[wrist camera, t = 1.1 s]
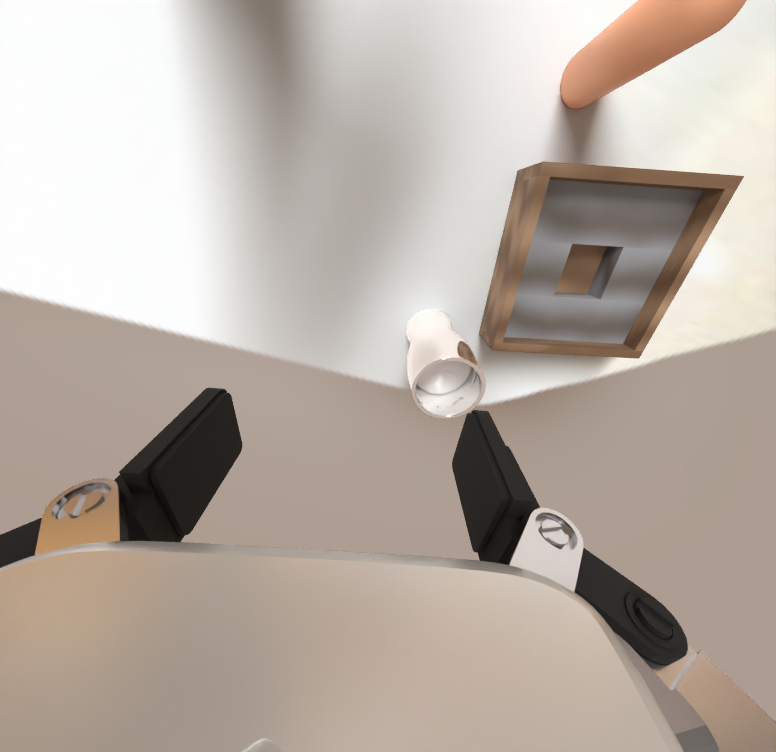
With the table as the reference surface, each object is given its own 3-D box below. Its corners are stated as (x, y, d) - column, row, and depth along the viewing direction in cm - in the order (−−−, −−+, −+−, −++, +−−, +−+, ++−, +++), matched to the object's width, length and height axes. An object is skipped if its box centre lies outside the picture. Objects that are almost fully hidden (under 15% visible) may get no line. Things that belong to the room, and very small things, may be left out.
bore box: (517, 170, 29) (543, 161, 24) (686, 182, 29) (744, 176, 24) (479, 333, 38) (492, 350, 33) (608, 340, 38) (639, 358, 33)
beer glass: (449, 298, 35) (483, 346, 22) (457, 346, 39) (492, 411, 26) (396, 313, 36) (400, 367, 23) (410, 358, 40) (419, 427, 27)
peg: (570, 45, 24) (705, -82, 14) (614, 49, 24) (781, -75, 14) (554, 107, 26) (660, 36, 16) (595, 110, 26) (728, 41, 16)
